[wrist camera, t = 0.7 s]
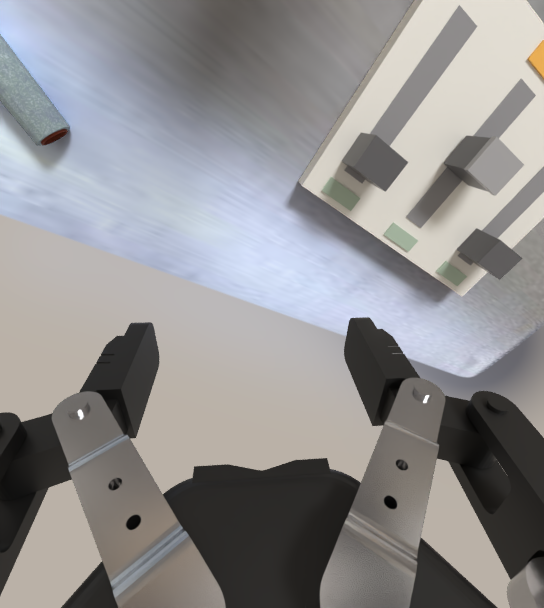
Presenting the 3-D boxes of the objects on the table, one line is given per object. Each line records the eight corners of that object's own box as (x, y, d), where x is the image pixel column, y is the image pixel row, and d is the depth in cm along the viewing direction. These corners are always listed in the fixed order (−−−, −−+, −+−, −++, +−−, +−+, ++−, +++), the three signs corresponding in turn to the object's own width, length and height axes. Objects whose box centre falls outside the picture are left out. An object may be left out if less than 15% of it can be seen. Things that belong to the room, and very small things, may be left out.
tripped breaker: (466, 133, 31) (496, 136, 27) (492, 158, 33) (524, 164, 29) (441, 163, 32) (467, 170, 29) (467, 186, 34) (495, 195, 30)
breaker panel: (452, -59, 26) (509, -106, 21) (604, 134, 35) (672, 139, 29) (298, 181, 35) (309, 194, 29) (451, 287, 44) (482, 313, 38)
